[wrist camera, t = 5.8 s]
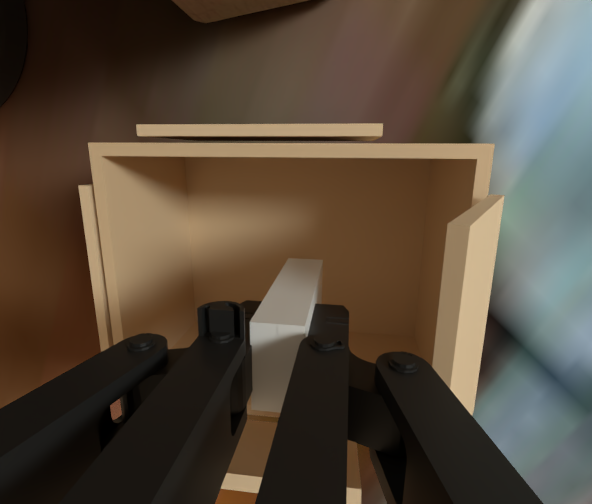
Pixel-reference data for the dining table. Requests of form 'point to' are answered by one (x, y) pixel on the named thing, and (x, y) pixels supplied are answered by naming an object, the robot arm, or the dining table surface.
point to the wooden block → (227, 8)
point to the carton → (275, 226)
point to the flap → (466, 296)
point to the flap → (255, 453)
